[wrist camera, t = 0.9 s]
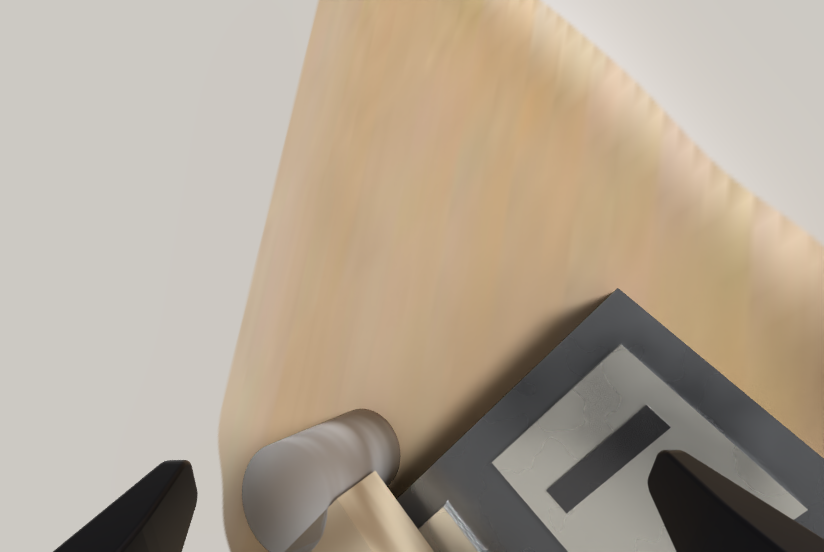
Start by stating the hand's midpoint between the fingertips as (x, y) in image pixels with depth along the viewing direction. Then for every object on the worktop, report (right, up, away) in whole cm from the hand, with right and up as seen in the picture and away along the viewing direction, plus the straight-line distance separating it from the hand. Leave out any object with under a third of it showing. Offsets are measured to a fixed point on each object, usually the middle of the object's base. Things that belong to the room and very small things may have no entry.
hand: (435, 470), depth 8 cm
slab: (+5, -8, +11) cm, 14 cm away
